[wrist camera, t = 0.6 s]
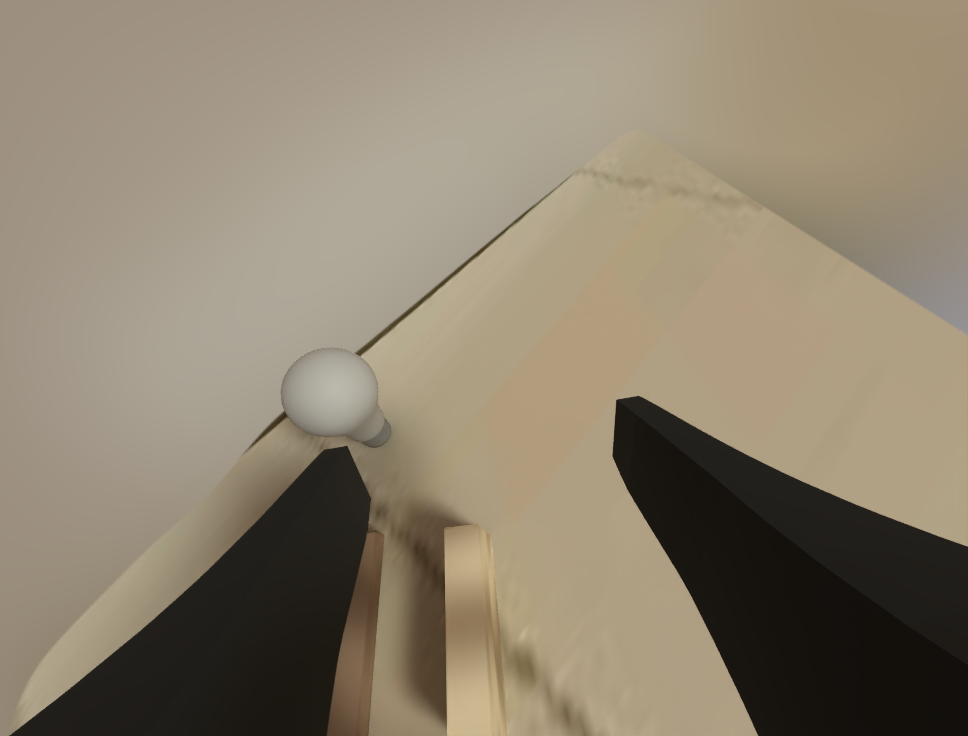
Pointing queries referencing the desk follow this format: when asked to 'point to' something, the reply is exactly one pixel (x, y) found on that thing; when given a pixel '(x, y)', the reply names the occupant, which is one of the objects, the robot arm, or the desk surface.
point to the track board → (358, 648)
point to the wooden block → (472, 636)
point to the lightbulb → (335, 397)
